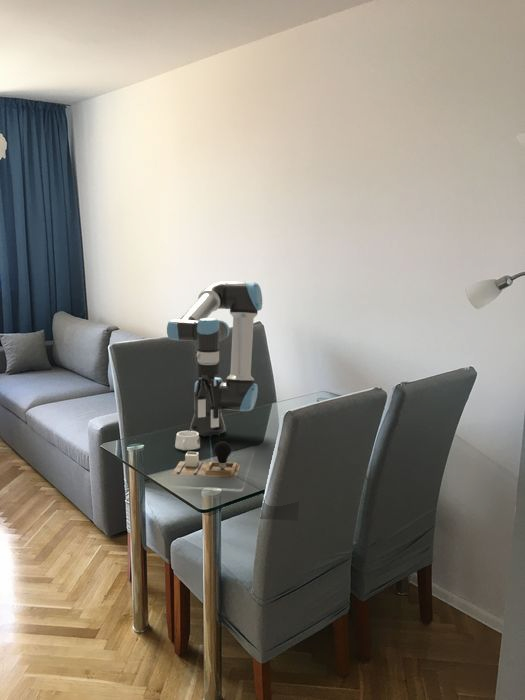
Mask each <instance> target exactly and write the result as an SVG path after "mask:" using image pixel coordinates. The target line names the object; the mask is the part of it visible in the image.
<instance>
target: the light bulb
mask: <svg viewBox="0 0 525 700" xmlns="http://www.w3.org/2000/svg"><path fill="white" fill-rule="evenodd" d="M213 451H214V454H215V457H217V462H219V468H220V469H222V470H223V469H224V468H226V462H228V457H230V455H231V453H232V447H231V444H229V443H228V442H227V441H225V440H224V441H223V440H222V441H219V442H217V443H216V444H215V446H214V449H213Z"/></svg>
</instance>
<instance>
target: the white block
mask: <svg viewBox="0 0 525 700" xmlns="http://www.w3.org/2000/svg"><path fill="white" fill-rule="evenodd" d="M199 455H200V454H199V452H198V451H187V452H186V453H185V455H184V458H185V459H184V461H185V466H189V467H197V465H198V463H199V462H200V461H199Z"/></svg>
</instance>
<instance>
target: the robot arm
mask: <svg viewBox="0 0 525 700" xmlns="http://www.w3.org/2000/svg"><path fill="white" fill-rule="evenodd" d="M262 308H263V294H262V290H261V286H260V284H259V283H257V282H254V281H253V282H251V281H227V280H226V281H225V280H223V281H217V282H215V283H213V284H211V285H209V286H207V287H205V288H204V289H203V290H202V291H201V292H200V293H199V295H198V299H197V300H196V301H195V302H194V303H193V304H192V305H191V306H190V308H189V309H188V310H186V312H185V313H184V314H183V315H182V316H181V318H179V319H176V318H175V319H170V320H169V321H168V322H167V325H166V334H167V335H166V336H167V337H168V339H169V340H172V341H182V342H183V341H184V342H187V341H188V342H196V343H197V345H196V347H197V348H196V349H197V353H196V355H195V356H196V358H197V362H198V363H197V365H196V366H197V370H196V371H197V375H198V378H197V379H198V380H196V382H195V383H194V388H193V389H194V391H193V395H194V396H193V409H194V410H193V411H194V414H193V417H192V420H191V423H190V426H189V431H190V430H191V431H195V432H198V433H199V435H204V436H203V437H206V436H209V437H213V436H212V435H218V434H221V433H223V432H224V431H225V432H226V425H225V421H224V418H223V416H222V415H223V413H222V411H223V410H224V411H225V410H226V411H238V412H250V411H252V410H253V409H254V408H255V406H256V402H257V398H258V393H259V392H258V391H259V387H258V384H257V383H255V378H254V377H253V376H252V373H251V372H252V359H253V358H252V357H253V355H252V354H253V337H254V336H253V334H254V319H255V317H257V316H258V311H261V310H262ZM218 309H219V310H221V309H223V310H224V309H226V310H229V314H230V315H231V317H232V335H231V356H230V371H229V375H228V376H226V379H225V381H223V379H222V378H221V377H217V376H216V375H219V373H220V364H219V362H220V342H222V341H225V340H226V339H227V338H228V337H229V335H230V326H229V325H228V323H227V322H226V321H224V320H221V319H220V320H219V319H218V318H213V317H209V316H210V315H211V314H212V313H213V312H216V311H217V310H218ZM218 436H219V435H218Z"/></svg>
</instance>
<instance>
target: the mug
mask: <svg viewBox="0 0 525 700" xmlns="http://www.w3.org/2000/svg"><path fill="white" fill-rule="evenodd" d="M175 435H176V436H175V442H174V443H175V444H174V447H175V449H177V450H181V451H193V450H198V449H201V442H200V436H199V433H198V432H195V431H190V430H182V431H178V432H177V433H176V434H175Z"/></svg>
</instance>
